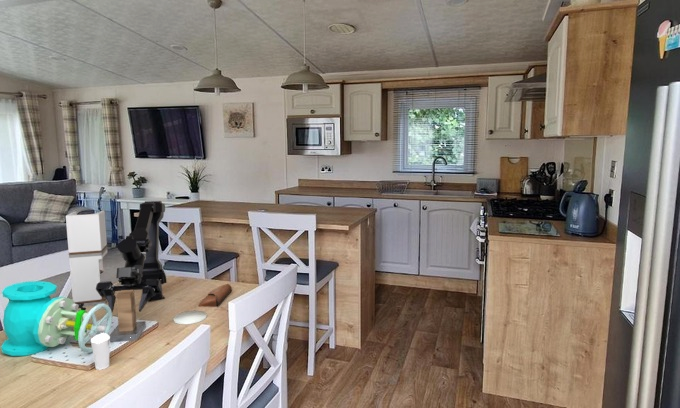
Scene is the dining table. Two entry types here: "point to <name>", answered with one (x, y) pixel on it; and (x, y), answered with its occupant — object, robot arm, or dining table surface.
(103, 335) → the milkshake
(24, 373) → the dining table surface
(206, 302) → the sunglasses case
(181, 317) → the ceramic coaster
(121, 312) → the walnut post
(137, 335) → the metal stand
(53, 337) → the valve
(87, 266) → the tall white block
